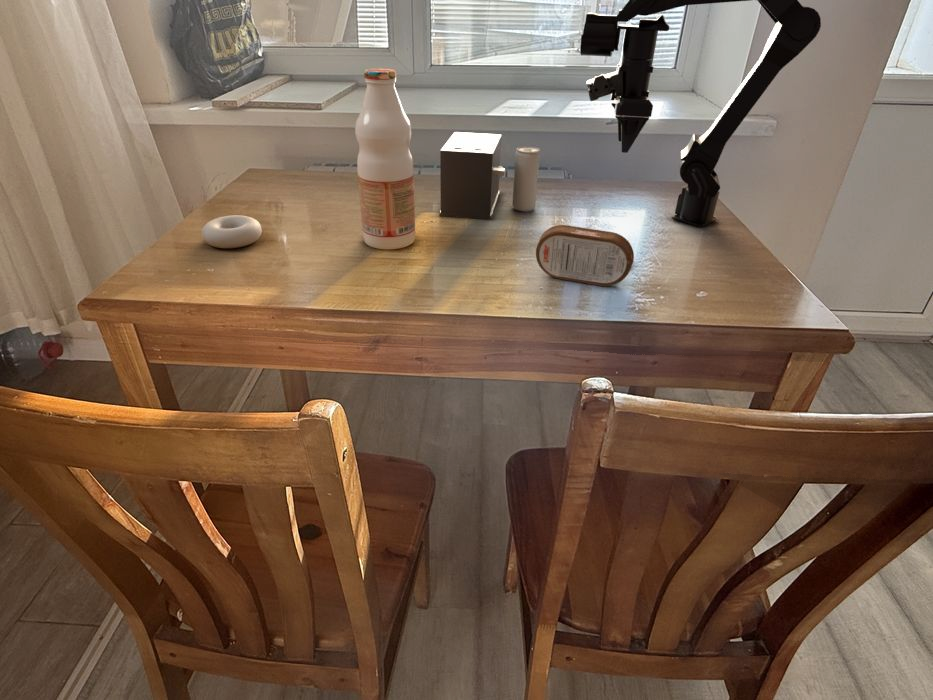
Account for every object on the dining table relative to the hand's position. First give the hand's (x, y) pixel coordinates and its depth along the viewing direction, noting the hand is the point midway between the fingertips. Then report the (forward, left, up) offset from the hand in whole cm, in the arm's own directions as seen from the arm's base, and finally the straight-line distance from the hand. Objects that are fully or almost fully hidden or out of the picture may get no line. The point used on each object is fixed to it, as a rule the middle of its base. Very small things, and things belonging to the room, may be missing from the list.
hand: (622, 146), depth 114 cm
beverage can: (+13, +13, -13) cm, 23 cm away
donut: (+35, +66, -13) cm, 76 cm away
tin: (-16, +32, -13) cm, 38 cm away
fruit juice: (+17, +45, -13) cm, 50 cm away
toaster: (+22, +20, -13) cm, 32 cm away
